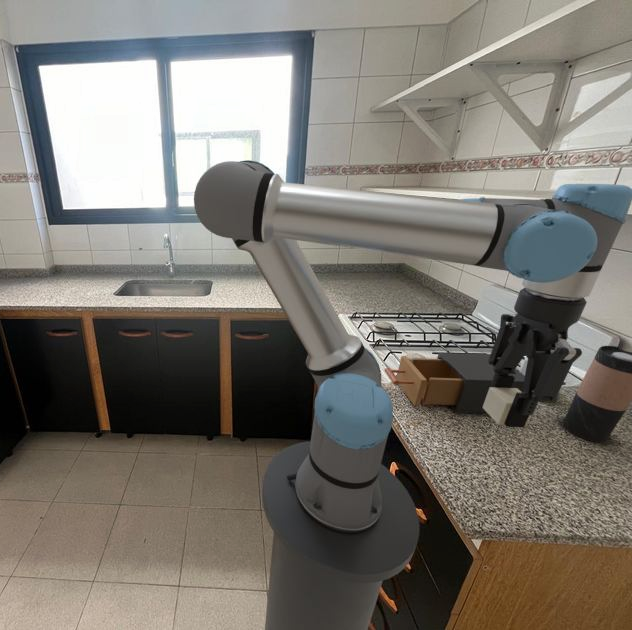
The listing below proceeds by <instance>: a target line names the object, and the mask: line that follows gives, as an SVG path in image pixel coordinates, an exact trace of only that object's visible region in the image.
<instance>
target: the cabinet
mask: <svg viewBox="0 0 632 630" xmlns="http://www.w3.org/2000/svg"><path fill="white" fill-rule="evenodd" d="M490 355H491V353H463V352H461V353H459V352H458V353H457V352H438V354H437V358H436V359H442V360H443V361H445V362H446V363H447V364H448V365H449V366H450V367H451V368H452V369H453V370H454V371H455V372H456V373H457V374H458V375H459V376H460V377H461V378H462V379H463V380H464V382H463V385H462V388H461V391H460V394H459V397H458V400H457V403H456V405H449V406H450V407H451V408H452V410H453V411H454V412H455V413H463V414H464V413H466V414H488V413H487V412H486V411H485V410H484V409H483V405H484V402H485V399H486V396H487V394H488V391H489V388H490V387H491V382H492V379H493V377H494V374H495V372H494V366H493V365H490V364H489V362H488V361H489V357H490ZM497 359H500V357H498V358H497ZM514 373H517V374H509V375H512V376H513V377H515V379H514V382H513V384H512V387H511V388H517V389H518V390H520V391H521V392H522V389H523V384H524V378H525V375H523V374H522V373H521V372H519V370H518V369H517V368H515V372H514ZM488 415H489V414H488Z"/></svg>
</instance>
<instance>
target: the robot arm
mask: <svg viewBox="0 0 632 630" xmlns="http://www.w3.org/2000/svg"><path fill="white" fill-rule="evenodd" d="M193 193H194V194H193V207H194V210H195V214H196V217H197V218H198V220H199V222H200V224H202V225H203V227H204V228H205V229H206V230H207V231H209V232H210V233H212V234H214V235H216V236H218V237H221V238H226V239H231V240H232V241H233V243H234V245H235V246H236V248H237V249H238V250H241V251H245V252H247V253H249V254H250V256H251V258H252V260H253V261H254V263H255V265H256V266H257V268H258V270H259V272H260V273H261V275H262V277H263V279H264V280H265V282H266V283H267V285H268V287H269V289H270V291H271V292H272V294H273V297H275V299H276V301H277V303H278V304H279V306H280V308H281V310H282V312H283V313H284V315H285V316H286V318H287V320H288V321H289V323H290V325H291V327H292V328H293V330H294V332H295V333H296V335H297V337H298V339H299V340H300V342H301V344H302V345H303V347H304V349H305V351H306V352H307V357H306V360H305V365H306V368H307V369H308V371H309V373H310V374H311V376H312V378H313V380H314V382H315V383H316V385H317V388H318V389H317V393H316V396H315V398H314V399H315V400H314V406H313V407H314V408H313V409H314V415H313V423H312V429H311V437H310V441H311V443H310V451H309V454H308V456H307V457H306V459H305V460H304V462H303V463H302V465H301V466H300V468H299V470H298V472H297V473H296V474H291V475H287V479H288V480H294V479H296V480H295V493H296V497H297V500H298V502H299V504H300V506H301V507H302V509H303V510H304V511H305V513H306V514H307V515H308V516H309V517H310V518H311V519H313V520H314V521H315V522H316V523H318V524H319V525H321V526H323V527H325V528H327V529H329V530H331V531H334V532H338V533H342V534H359V533H363V532H366V531H368V530H370V529H371V528H372V527H374V526H375V524H376V523H377V522H378V520H379V517H380V514H381V510H382V495H381V490H380V485H379V480H378V472H379V469H380V465H381V464H382V461H383V457H384V453H385V449H386V445H387V441H388V438H389V433H390V432H391V429H392V426H393V420H394V414H393V413H394V406H393V402H392V399H391V397H390V395H389V393H388V392H387V390H385V389H384V388H383V384H382V373H381V372H382V370H381V367H380V365H379V362H378V360H377V359H376V357H375V355H374V354H373V353H372V352H371V351H370V350H369V349H368V348H366V347H365V345H364V343H363V342H362V340H361V339H360V338H359V337H358V336H357V335H353V334H349V333H348V331H347V330H346V327H345V326H344V324H343V322H342V321H341V319H340V317H339V315H338V313H337V311H336V310H335V307H334V306H333V304H332V303H331V301H330V299H329V297H328V295H327V293H326V291H325V290H324V288H323V286H322V285H321V282H320V281H319V278H318V277H317V275H316V274H315V271H314V269H313V268H312V266H311V265H310V263H309V261H308V258H307V257H306V255H305V253H304V252H303V250H302V248H301V246H300V245H299V242H298V241H301V242H307V243H308V242H309V243H313V244H321V245H328V246H335V247H343V248H350V249H355V250H357V249H358V250H363V251H370V252H378V253H383V254H384V253H385V254H391V255H398V256H405V257H410V258H411V257H412V258H419V259H427V260H432V261H433V260H434V261H439V262H440V261H441V262H445V263H446V262H447V263H454V264H460V265H461V264H462V265H469V266H474V267H478V268H485V269H492V270H500V271H506V272H508V273H509V274H511V275H512V276H514V277H516V278H518V279H522V280H523V281H522V283H521V284H522V286H523V288H522V289H520V290H519V292H518V295H517V299H516V301H515V304H514V306H513V308H514V312H515V313H516V314H514V313H513V314H511V313H503V314H501V315H500V326H499V329H498V332H497V335H496V338H495V340H494V343H493V347H492V349H491V352H490V354H491V355H490V357H489V361H488V362H489V364H490V365H493V366H494V372H495V374H494V377H493V379H492V382H491V387H496V388H511V387H512V384H513V382H514V379H515V377H513V376H512V375H509V374H517V373H514V372H515V369H517V367H518V366H519V364H520V363H521V362H522V360H523V358H524V357H526V355H527V356H528V362H527V367H526V373H525V378H524V384H523V389H522V393H518V392H517V393H516V395H515V398H514V400H513V403H512V406H511V408H510V411H509V413H508V415H507V418H506V420H505V423H504V424H505V425H504V426H505V427H508V428H525V427H526V426H525V424H526V422H527V419H528V417H529V415H531V416H532V415H533V414H534V413H535V411H536V408H537V406H538V403H555V401H556V399H557V397H558V395H559V393H560V391H561V389H562V387H563V385H564V383H565V380H566V378H567V377H568V374H569V372H570V370H571V367H572V366H573V363H574V362H575V361H576V360H578V359H579V358H580V357H581V356H582V354H583V350H582V349H581V348H579V347H573V346H572V345H571V344H570V343H569V342H568V341H567V340H568V338H569V335H568V333H569V328H570V327H572V326H573V325H574V324H576V323H578V322H579V320H580V318H581V316H582V314H583V312H584V310H585V308H586V306H587V303H588V301H587V300H586V299H585V298H587V297H590V295H591V293H592V291H593V289H594V287H595V284H596V282H597V281H598V278H599V276H600V274H601V271H602V269H603V266H604V264H605V262H606V260H607V259H608V256H609V254H610V252H611V251H612V248H613V246H614V243H615V241H616V239H617V236H618V234H619V233H620V231H621V228H622V226H623V225H624V224H626V219H627V216H628V212H629V211H630V207H631V205H632V188H631V187H630V186H628V185H625V184H612V183H565V184H562V185H560V186H559V187H558V188H557V189H556V191H555V193H554V194H553V195H552V197H551V198H540V199H528V198H527V199H525V198H494V197H493V198H492V197H491V198H490V197H485V196H484V197H483V196H482V197H479V198H462V199H452V198H443V197H431V196H423V195H413V194H403V193H393V192H384V191H383V192H382V191H373V190H363V189H353V188H343V187H334V186H324V185H323V186H322V185H314V184H305V183H294V182H286V181H284V180H283V178H282V177H281V176H280V174H279V173H274V171H273V170H272V169H271V168H269V166H267V165H265V164H263V163H261V162H259V161H255V160H246V159H245V160H240V161H236V160H235V161H234V160H227V161H222V162H219V163H216V164H214V165H212V166H210V167H209V168H208V169H206V171H204V172H203V174H202V175H201V176H200V178H199V179H198V181H197V183H196V185H195V189H194V192H193ZM536 351H545V352H536ZM498 357H500V359H497V358H498ZM533 390H534V391H533Z"/></svg>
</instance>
